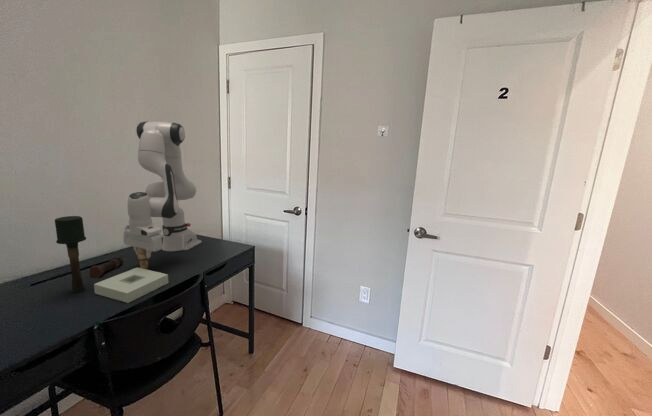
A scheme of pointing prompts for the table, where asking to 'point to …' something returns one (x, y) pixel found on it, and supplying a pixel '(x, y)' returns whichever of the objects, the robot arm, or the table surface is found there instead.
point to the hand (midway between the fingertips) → (143, 256)
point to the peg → (142, 258)
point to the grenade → (72, 245)
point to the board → (131, 284)
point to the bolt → (105, 267)
